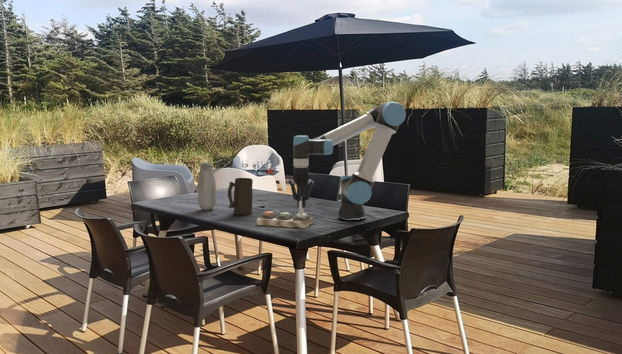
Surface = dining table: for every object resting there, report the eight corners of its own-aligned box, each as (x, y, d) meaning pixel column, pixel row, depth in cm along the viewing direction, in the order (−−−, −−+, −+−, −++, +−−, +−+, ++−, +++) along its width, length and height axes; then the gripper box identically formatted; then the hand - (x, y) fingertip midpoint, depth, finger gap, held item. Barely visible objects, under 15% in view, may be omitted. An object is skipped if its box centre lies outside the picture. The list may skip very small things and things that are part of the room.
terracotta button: (275, 215, 265) (275, 211, 264) (271, 217, 260) (271, 213, 260) (266, 214, 266) (266, 211, 266) (262, 216, 262) (262, 212, 261)
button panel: (313, 223, 262) (313, 214, 261) (304, 228, 250) (304, 219, 250) (266, 220, 270) (266, 211, 270) (256, 224, 259) (256, 216, 259)
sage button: (291, 216, 262) (291, 212, 261) (287, 218, 257) (287, 214, 257) (282, 215, 263) (282, 212, 263) (278, 217, 259) (278, 213, 258)
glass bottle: (212, 211, 296) (210, 163, 293) (195, 211, 298) (194, 162, 295) (218, 208, 306) (217, 161, 302) (202, 208, 308) (201, 161, 304)
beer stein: (244, 211, 297) (243, 176, 295) (257, 213, 290) (256, 178, 288) (223, 215, 285) (222, 179, 283) (237, 217, 278) (236, 180, 276)
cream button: (308, 217, 258) (308, 213, 258) (304, 219, 254) (304, 215, 254) (298, 216, 260) (298, 213, 260) (295, 218, 255) (295, 214, 255)
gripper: (316, 166, 255) (316, 213, 258) (291, 165, 260) (292, 211, 262) (310, 168, 248) (311, 216, 251) (286, 167, 253) (286, 214, 255)
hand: (301, 213), depth 257 cm, fingers closed
